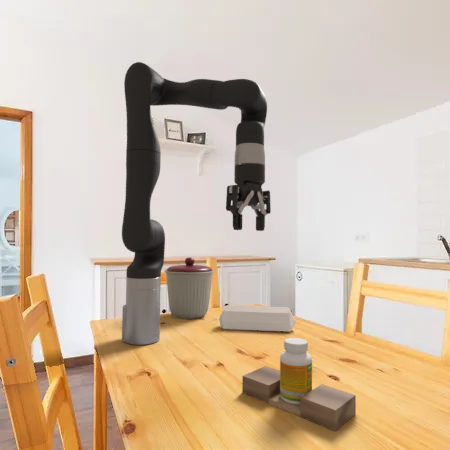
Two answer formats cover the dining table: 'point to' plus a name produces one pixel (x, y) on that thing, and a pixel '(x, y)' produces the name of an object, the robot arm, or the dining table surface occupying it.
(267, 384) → the brown wooden cradle
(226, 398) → the dining table surface
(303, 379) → the supplement bottle
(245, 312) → the crystal
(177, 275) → the canister
